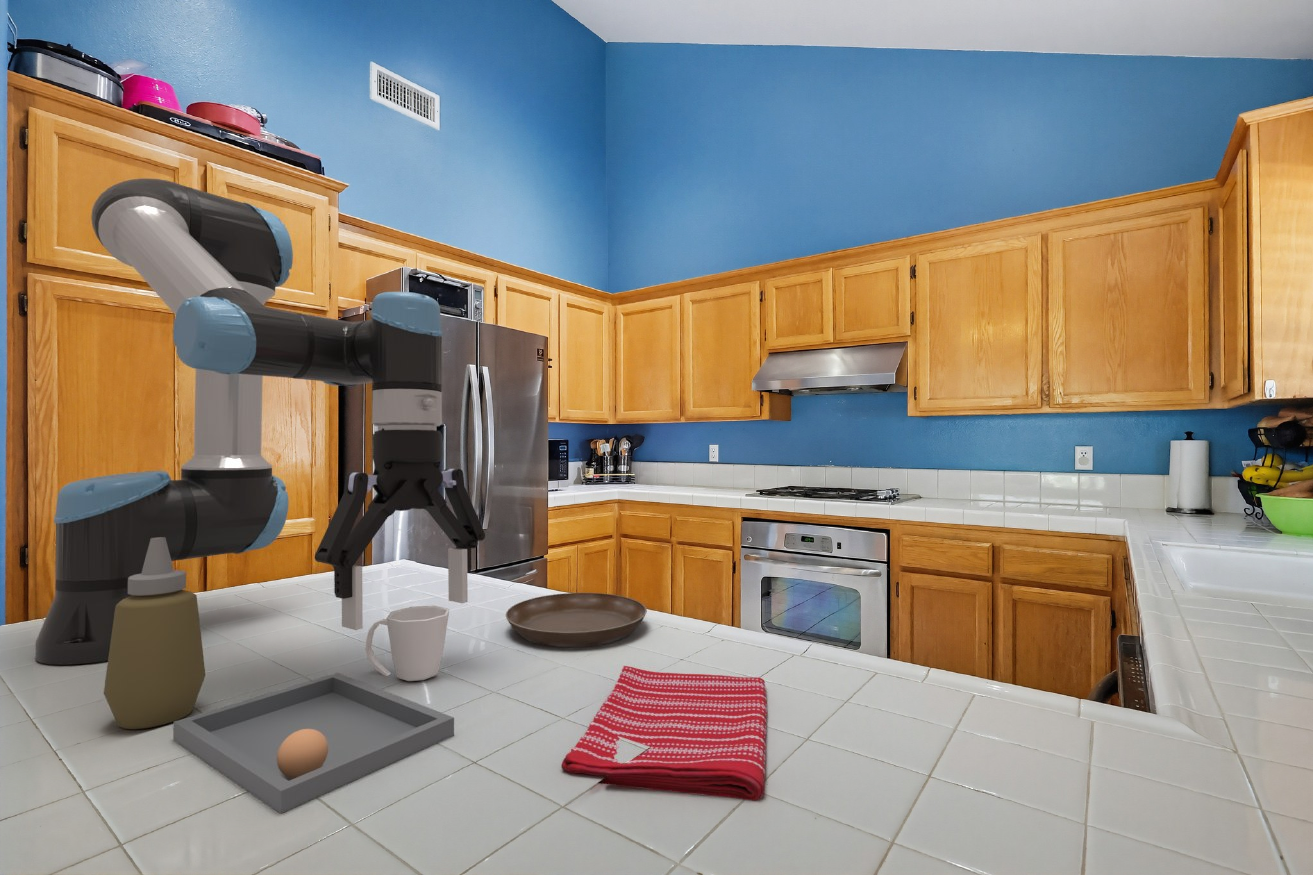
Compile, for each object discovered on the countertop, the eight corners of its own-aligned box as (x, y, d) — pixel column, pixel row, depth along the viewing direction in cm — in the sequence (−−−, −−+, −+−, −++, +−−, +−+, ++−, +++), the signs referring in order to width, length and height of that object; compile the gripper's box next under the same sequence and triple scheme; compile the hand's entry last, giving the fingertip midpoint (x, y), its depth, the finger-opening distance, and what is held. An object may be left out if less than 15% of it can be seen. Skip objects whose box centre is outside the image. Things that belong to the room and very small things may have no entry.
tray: (173, 748, 57) (173, 721, 57) (337, 694, 69) (337, 672, 69) (280, 824, 46) (280, 791, 46) (454, 743, 58) (454, 717, 58)
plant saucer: (644, 654, 84) (644, 629, 84) (488, 653, 84) (488, 628, 84) (648, 613, 104) (648, 592, 104) (523, 612, 104) (523, 592, 105)
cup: (430, 697, 69) (430, 622, 69) (347, 691, 70) (348, 618, 70) (461, 674, 76) (461, 606, 76) (385, 669, 77) (385, 602, 77)
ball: (268, 778, 50) (268, 733, 50) (313, 760, 53) (314, 717, 53) (290, 793, 48) (290, 745, 48) (336, 772, 51) (337, 728, 51)
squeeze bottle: (224, 707, 66) (226, 534, 66) (139, 742, 58) (141, 546, 58) (170, 697, 69) (172, 531, 69) (82, 729, 61) (84, 541, 61)
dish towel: (551, 790, 51) (551, 757, 51) (619, 682, 74) (619, 659, 74) (766, 812, 48) (766, 777, 48) (767, 692, 71) (767, 669, 72)
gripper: (315, 425, 61) (316, 647, 60) (512, 430, 81) (513, 595, 81) (278, 427, 65) (278, 635, 65) (473, 431, 86) (475, 589, 85)
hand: (409, 613), depth 73 cm, fingers open, 13 cm apart
